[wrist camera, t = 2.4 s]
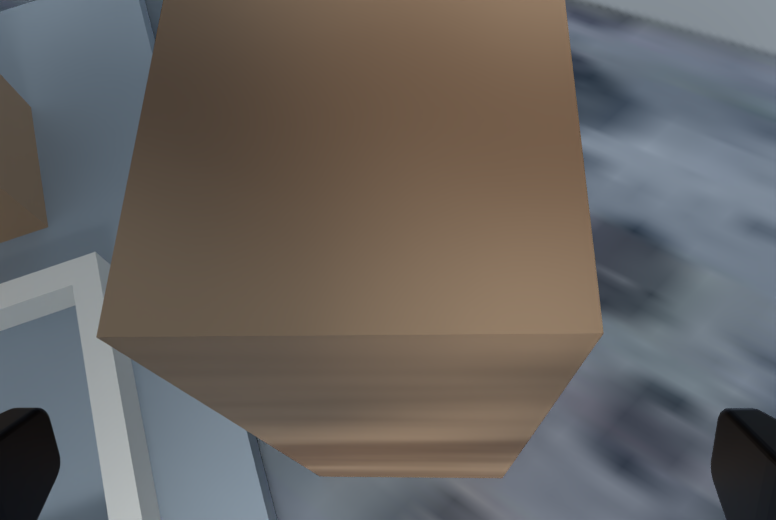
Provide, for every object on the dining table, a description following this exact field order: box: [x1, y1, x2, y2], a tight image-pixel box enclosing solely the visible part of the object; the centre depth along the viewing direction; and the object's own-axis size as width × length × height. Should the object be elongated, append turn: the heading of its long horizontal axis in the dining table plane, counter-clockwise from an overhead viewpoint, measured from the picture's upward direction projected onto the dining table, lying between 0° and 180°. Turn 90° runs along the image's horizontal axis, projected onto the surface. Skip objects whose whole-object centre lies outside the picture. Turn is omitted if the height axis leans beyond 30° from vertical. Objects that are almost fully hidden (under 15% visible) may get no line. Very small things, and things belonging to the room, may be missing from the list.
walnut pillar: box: [96, 0, 603, 478], centre depth 14 cm, size 5×5×13 cm
